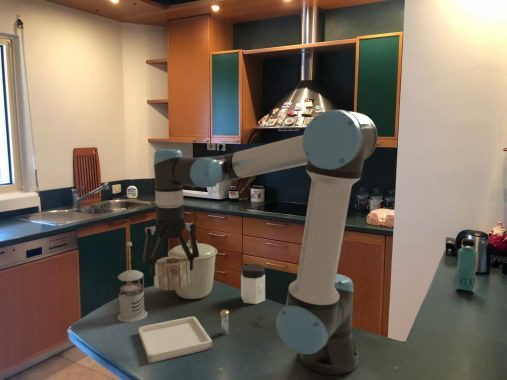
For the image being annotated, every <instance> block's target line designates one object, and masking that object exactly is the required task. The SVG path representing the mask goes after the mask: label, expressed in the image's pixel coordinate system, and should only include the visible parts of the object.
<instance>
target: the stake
mask: <svg viewBox="0 0 507 380" xmlns="http://www.w3.org/2000/svg"><path fill="white" fill-rule="evenodd" d="M219 311H220V312H219V313H220V314H219V315H220V316H221V321H220V322H221V334H222V335H228V334H229V315H230V311H229V310H228V309H222V310H219Z"/></svg>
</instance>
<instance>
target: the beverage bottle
mask: <svg viewBox="0 0 507 380" xmlns="http://www.w3.org/2000/svg"><path fill="white" fill-rule="evenodd" d="M461 245H462V247H461V248H459V249H458V250H457V252H458V254H457V264H456V265H457V267H456V278H455V281H456V282H455V286H456V288H457V289H460V290H464V291H472V290H474V289H475V286H476V285H475V284H476V283H475V282H476V271H477V270H476V269H477V263H478V262H477V260H478V259H477V254H478V252H477V251H476V250H475V249H474V248H473V247H474V246H475V240H474V239H471V238H462V242H461Z"/></svg>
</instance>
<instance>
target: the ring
mask: <svg viewBox="0 0 507 380" xmlns="http://www.w3.org/2000/svg"><path fill="white" fill-rule="evenodd" d="M156 263H157V264H158V275H159V288H158V289H161V290H165V291H168V290H169V291H171V290H172V291H175V289H179V288H182V287H184V286H186V285H187V264H186V259H185V258H184V257H178V256H176V257H174V256H172V257H169V256H165V257H161V258H159V259H157V261H156Z"/></svg>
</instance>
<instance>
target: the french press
mask: <svg viewBox="0 0 507 380" xmlns="http://www.w3.org/2000/svg"><path fill="white" fill-rule="evenodd" d="M125 246H126V247H128V255H129V261H131V253H130V252H131V250H130V247H132V246H133V243H132V242H131V241H128V242H126V245H125ZM117 279H118V280H120V281H121V282H131V283H127V284H124V285H122V286H120V287H119V291H118V300H119V314H118V315H117V316H116V318H117V320H118V321H120V322H123V323H132V322H133V323H134V322H138V321H141V320H143V319H146V318H147V316H148V315H149V313H148V311H147V310H145V299H144V297H145V296H144V294H145V291H144V289H145V282H144V281H145V280H144V273H143V272H141V271H139V270H136V269H131V265H129V269H128V270H125V271H123V272H121V273H120V274H119V275H118V276H117ZM141 279H142V284H141V283H140V280H141ZM132 281H138V283H132Z"/></svg>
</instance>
